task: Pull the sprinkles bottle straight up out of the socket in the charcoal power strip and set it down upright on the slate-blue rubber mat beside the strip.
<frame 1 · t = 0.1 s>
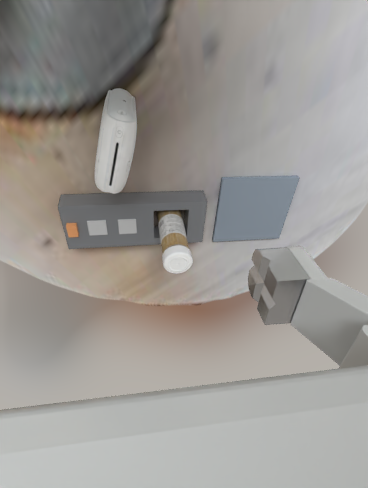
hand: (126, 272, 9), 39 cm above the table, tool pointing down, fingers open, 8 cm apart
sprinkles bottle: (168, 211, 56), resting in power strip
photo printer: (116, 124, 44), on the table
power strip: (135, 213, 55), on the table
rubber mat: (252, 209, 58), on the table
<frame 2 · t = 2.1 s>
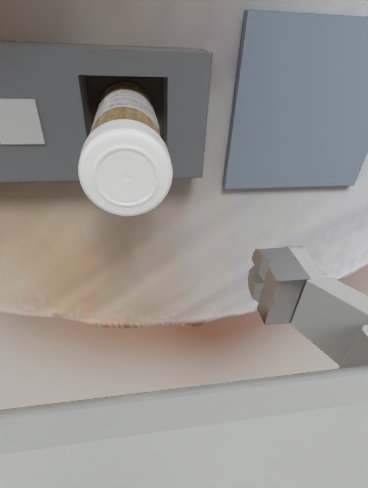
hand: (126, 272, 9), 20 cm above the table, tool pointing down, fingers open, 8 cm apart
sprinkles bottle: (126, 110, 25), resting in power strip
power strip: (50, 110, 24), on the table
rubber mat: (307, 112, 28), on the table
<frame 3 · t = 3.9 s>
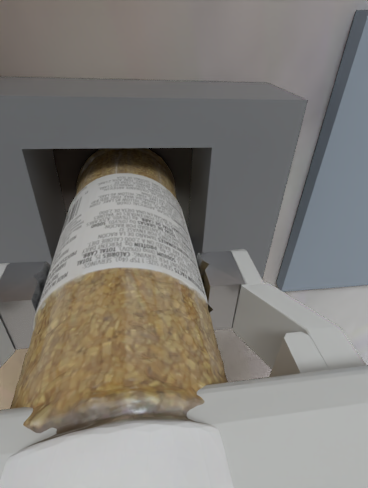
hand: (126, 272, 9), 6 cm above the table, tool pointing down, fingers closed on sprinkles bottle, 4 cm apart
sprinkles bottle: (127, 185, 15), resting in power strip, touching gripper
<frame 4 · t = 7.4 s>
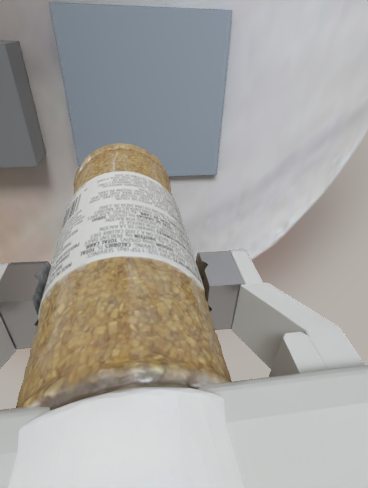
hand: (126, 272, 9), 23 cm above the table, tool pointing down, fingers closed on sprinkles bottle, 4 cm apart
sprinkles bottle: (123, 185, 15), point 17 cm above the table, touching gripper
rubber mat: (147, 102, 28), on the table
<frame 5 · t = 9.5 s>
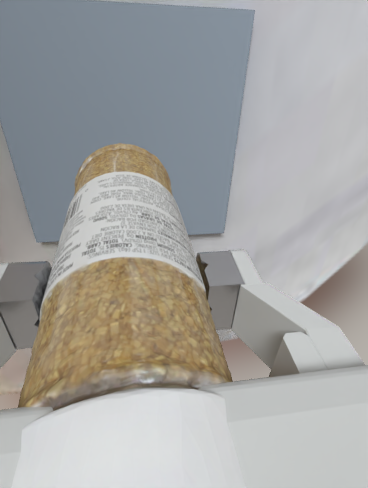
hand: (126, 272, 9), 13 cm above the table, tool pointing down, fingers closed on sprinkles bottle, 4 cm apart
sprinkles bottle: (124, 185, 15), point 6 cm above the table, touching gripper
rubber mat: (127, 141, 20), on the table
when the fingers open (8 cm above the table, at t = 11.2 s): sprinkles bottle drops 1 cm, resting on rubber mat.
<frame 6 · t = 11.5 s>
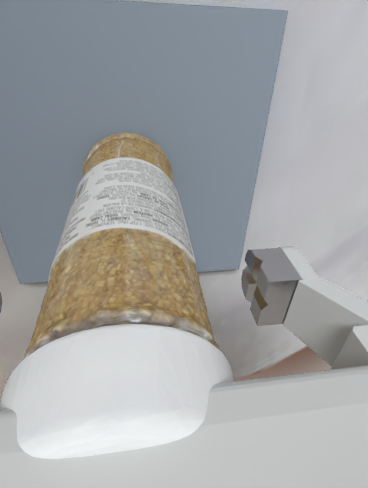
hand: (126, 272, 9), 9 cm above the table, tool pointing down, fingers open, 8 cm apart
sprinkles bottle: (128, 172, 16), point 1 cm above the table, touching rubber mat
rubber mat: (127, 168, 16), on the table
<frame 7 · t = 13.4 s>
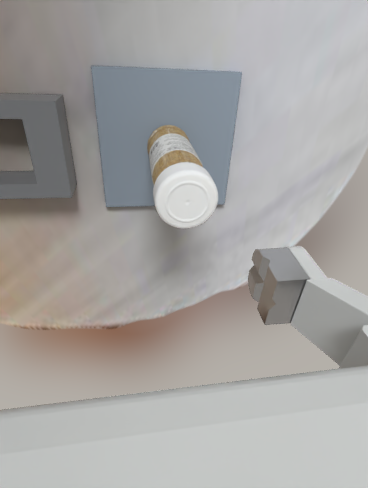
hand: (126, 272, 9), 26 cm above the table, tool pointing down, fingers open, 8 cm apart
sprinkles bottle: (168, 145, 32), point 1 cm above the table, touching rubber mat
rubber mat: (167, 143, 33), on the table
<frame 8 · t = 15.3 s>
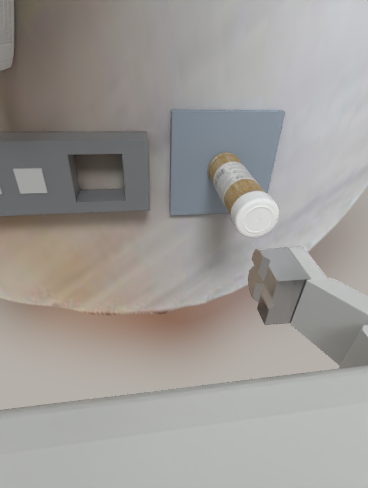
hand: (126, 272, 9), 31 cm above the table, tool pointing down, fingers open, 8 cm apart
sprinkles bottle: (223, 167, 41), point 1 cm above the table, touching rubber mat
power strip: (51, 168, 38), on the table
rubber mat: (221, 165, 41), on the table
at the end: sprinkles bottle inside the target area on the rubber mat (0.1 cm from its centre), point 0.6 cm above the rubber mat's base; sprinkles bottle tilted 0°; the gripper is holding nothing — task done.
